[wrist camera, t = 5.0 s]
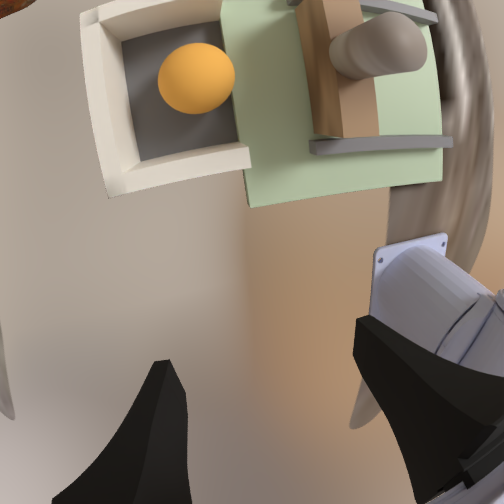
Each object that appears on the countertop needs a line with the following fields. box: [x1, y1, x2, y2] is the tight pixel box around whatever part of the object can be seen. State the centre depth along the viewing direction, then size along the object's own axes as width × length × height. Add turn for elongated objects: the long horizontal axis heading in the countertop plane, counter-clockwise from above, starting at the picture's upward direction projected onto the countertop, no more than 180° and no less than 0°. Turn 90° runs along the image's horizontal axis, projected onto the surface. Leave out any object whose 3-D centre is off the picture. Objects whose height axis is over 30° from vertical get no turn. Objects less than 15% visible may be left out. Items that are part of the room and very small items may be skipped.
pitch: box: [80, 0, 453, 208], centre depth 14 cm, size 16×22×4 cm
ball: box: [158, 43, 235, 114], centre depth 13 cm, size 4×4×4 cm
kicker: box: [295, 0, 427, 138], centre depth 11 cm, size 8×2×8 cm, turn 8°
